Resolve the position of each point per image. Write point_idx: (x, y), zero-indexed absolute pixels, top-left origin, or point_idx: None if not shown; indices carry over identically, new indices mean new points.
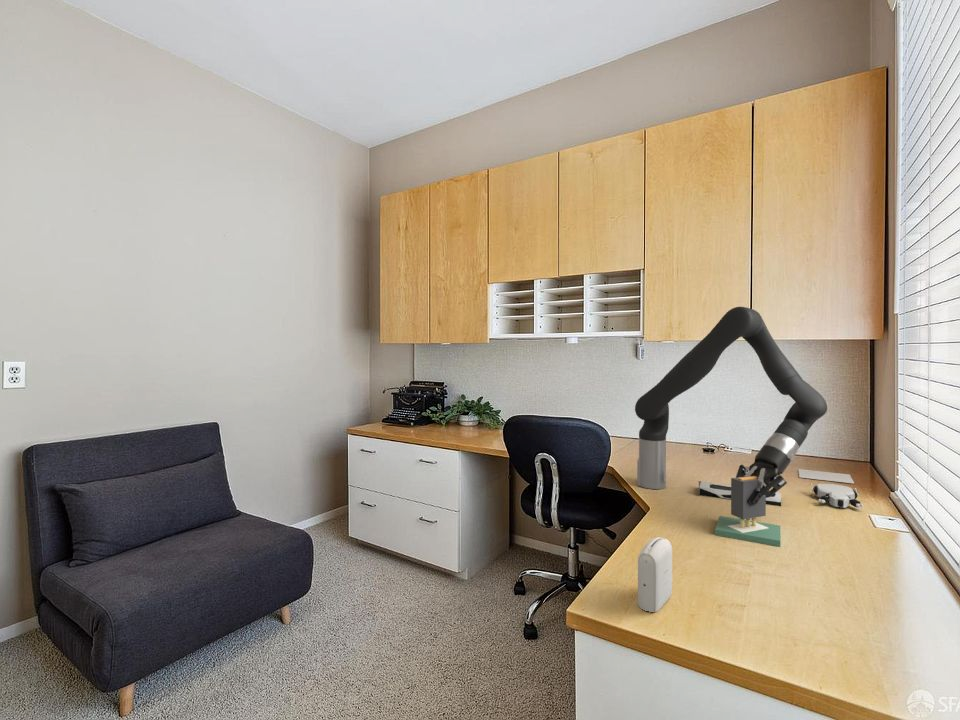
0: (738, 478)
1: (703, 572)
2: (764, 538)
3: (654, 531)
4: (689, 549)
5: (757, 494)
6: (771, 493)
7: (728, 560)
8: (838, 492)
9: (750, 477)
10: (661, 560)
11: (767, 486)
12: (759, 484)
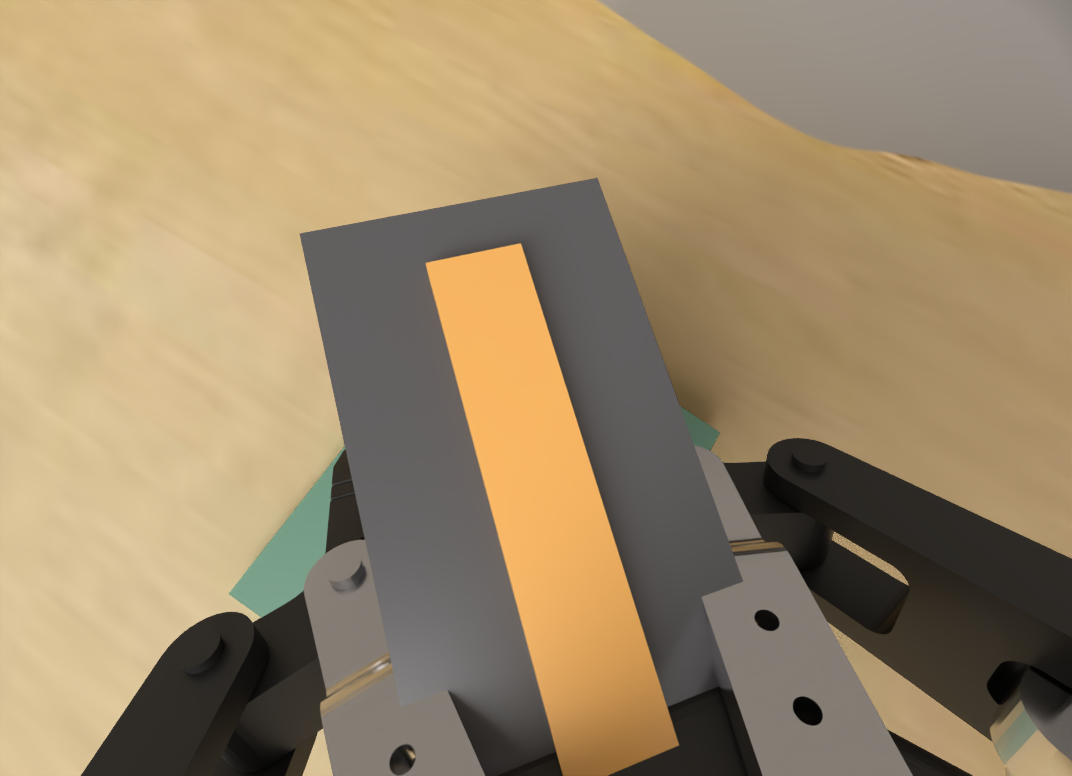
0: (505, 248)
1: (47, 5)
2: (298, 506)
3: (550, 30)
4: (309, 72)
5: (332, 533)
6: (222, 759)
7: (139, 175)
8: None
9: (547, 547)
10: None
11: (163, 732)
12: (373, 649)
